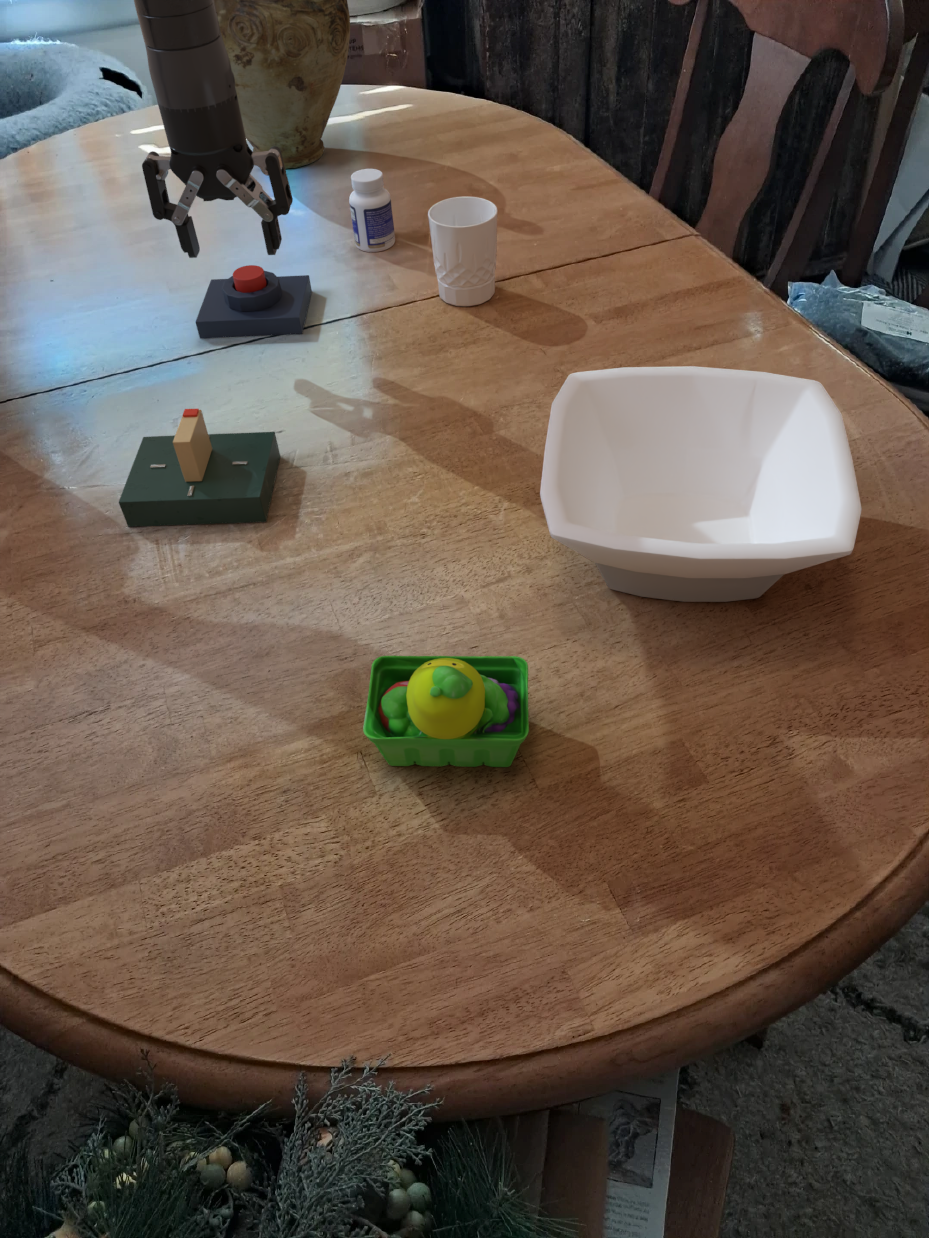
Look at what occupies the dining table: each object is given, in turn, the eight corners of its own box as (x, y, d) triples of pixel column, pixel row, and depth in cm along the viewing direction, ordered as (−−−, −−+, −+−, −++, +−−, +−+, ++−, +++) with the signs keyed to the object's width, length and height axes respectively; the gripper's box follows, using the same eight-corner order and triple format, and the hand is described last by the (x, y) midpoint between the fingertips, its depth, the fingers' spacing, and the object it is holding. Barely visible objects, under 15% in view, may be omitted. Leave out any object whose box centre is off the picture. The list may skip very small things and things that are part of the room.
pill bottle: (402, 238, 130) (395, 169, 124) (383, 256, 127) (375, 186, 120) (367, 232, 132) (358, 164, 125) (347, 249, 129) (338, 180, 122)
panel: (127, 527, 92) (117, 500, 90) (151, 461, 99) (142, 435, 97) (266, 522, 92) (259, 495, 89) (280, 456, 99) (274, 430, 96)
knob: (202, 481, 91) (189, 439, 88) (185, 482, 91) (171, 440, 88) (212, 448, 95) (200, 407, 91) (196, 449, 95) (183, 407, 91)
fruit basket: (528, 698, 76) (528, 594, 68) (528, 796, 70) (528, 695, 61) (380, 698, 76) (362, 595, 68) (368, 795, 70) (347, 695, 62)
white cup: (511, 286, 120) (510, 205, 112) (475, 316, 115) (472, 232, 108) (458, 271, 123) (453, 191, 116) (421, 299, 119) (414, 217, 111)
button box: (199, 339, 115) (191, 307, 112) (215, 296, 122) (207, 265, 119) (302, 334, 114) (296, 303, 111) (311, 291, 121) (306, 261, 118)
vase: (273, 200, 137) (217, -59, 118) (190, 172, 151) (126, -64, 132) (402, 153, 148) (369, -92, 128) (312, 131, 162) (271, -93, 142)
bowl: (531, 640, 80) (531, 546, 72) (554, 451, 97) (556, 360, 89) (843, 662, 77) (876, 566, 69) (810, 463, 94) (834, 368, 86)
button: (233, 295, 114) (230, 280, 113) (238, 279, 117) (235, 265, 115) (264, 293, 114) (261, 279, 113) (268, 278, 117) (265, 264, 115)
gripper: (111, 109, 92) (160, 273, 104) (262, 102, 91) (294, 268, 103) (133, 81, 97) (177, 240, 109) (275, 73, 96) (304, 234, 108)
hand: (234, 253), depth 106 cm, fingers open, 8 cm apart
